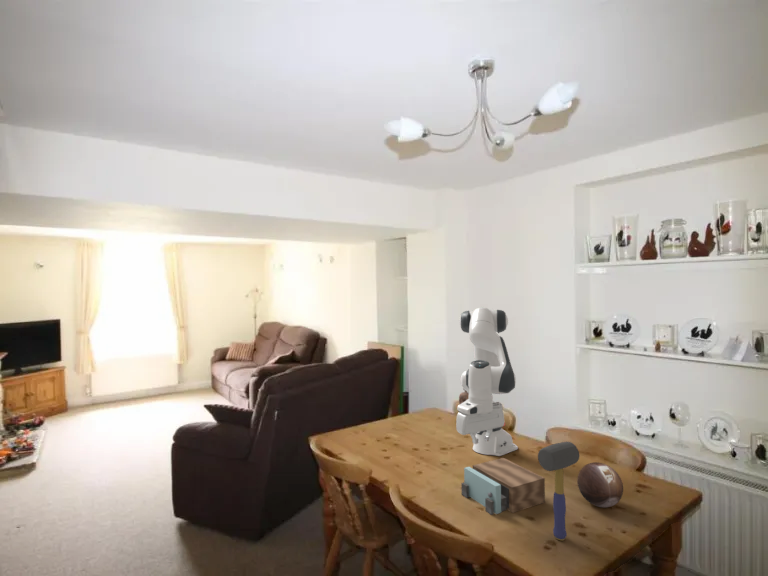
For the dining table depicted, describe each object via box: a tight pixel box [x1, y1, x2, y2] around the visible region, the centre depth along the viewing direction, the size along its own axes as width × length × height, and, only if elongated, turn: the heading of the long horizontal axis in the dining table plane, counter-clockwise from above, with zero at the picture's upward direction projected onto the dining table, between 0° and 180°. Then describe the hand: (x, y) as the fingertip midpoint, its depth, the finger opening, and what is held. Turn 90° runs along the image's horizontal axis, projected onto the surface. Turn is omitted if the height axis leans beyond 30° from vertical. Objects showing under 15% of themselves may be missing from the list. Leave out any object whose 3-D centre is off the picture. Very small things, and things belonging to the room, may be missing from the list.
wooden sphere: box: [576, 461, 624, 508], centre depth 159 cm, size 15×15×15 cm
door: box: [463, 466, 502, 515], centre depth 162 cm, size 3×18×10 cm, turn 27°
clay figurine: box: [457, 388, 469, 413], centre depth 259 cm, size 13×10×25 cm
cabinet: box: [461, 457, 546, 516], centre depth 166 cm, size 24×22×9 cm
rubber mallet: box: [537, 441, 580, 541], centre depth 138 cm, size 12×8×30 cm, turn 120°
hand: (481, 442), depth 162 cm, fingers open, 4 cm apart
